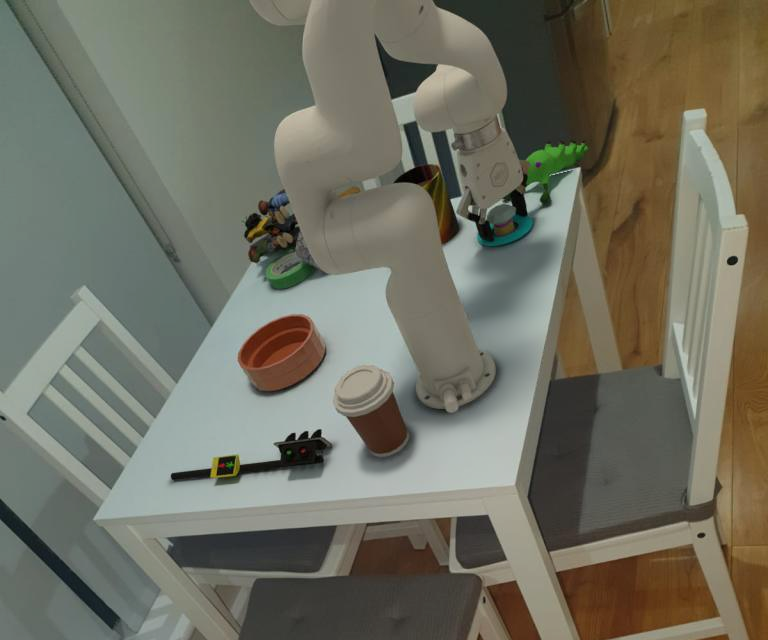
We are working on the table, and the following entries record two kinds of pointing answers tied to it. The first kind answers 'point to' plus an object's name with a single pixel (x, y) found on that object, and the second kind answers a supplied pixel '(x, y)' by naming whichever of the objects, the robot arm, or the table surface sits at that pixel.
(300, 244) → the stone
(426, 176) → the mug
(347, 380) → the cocoa
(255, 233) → the doll family
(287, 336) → the bowl
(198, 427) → the table surface
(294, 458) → the miniature traffic light
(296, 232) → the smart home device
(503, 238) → the ornament
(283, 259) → the tape roll
